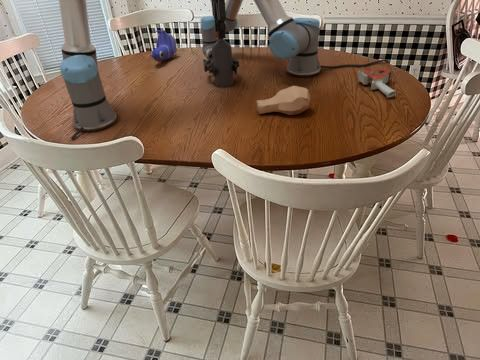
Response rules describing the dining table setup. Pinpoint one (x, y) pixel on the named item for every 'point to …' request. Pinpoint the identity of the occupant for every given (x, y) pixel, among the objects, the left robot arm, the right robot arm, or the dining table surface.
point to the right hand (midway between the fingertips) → (225, 71)
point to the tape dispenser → (377, 80)
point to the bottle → (223, 63)
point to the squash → (286, 101)
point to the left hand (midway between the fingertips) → (220, 36)
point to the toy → (164, 47)
